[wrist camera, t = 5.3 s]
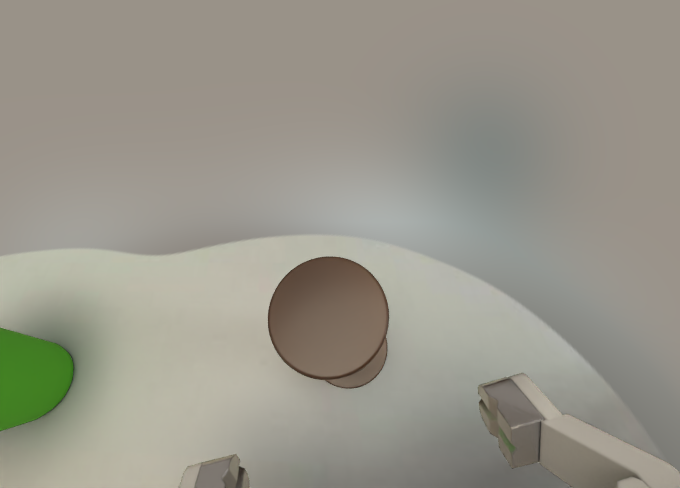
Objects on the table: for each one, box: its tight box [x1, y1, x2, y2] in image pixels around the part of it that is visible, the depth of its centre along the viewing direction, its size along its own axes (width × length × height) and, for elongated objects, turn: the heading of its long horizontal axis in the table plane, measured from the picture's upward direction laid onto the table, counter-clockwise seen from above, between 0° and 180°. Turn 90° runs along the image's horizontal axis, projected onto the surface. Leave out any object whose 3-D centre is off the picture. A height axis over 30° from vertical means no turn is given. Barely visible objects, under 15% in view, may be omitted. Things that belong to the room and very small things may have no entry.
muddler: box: [268, 257, 389, 389], centre depth 15 cm, size 5×5×15 cm
